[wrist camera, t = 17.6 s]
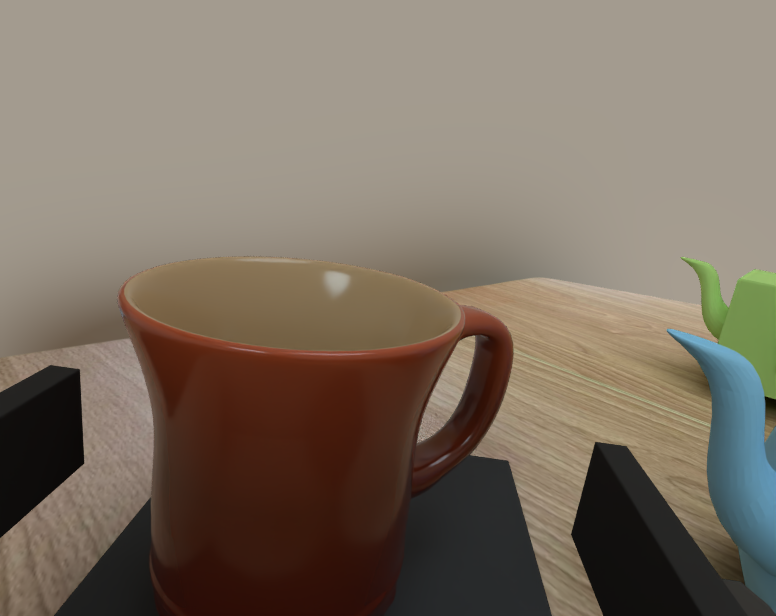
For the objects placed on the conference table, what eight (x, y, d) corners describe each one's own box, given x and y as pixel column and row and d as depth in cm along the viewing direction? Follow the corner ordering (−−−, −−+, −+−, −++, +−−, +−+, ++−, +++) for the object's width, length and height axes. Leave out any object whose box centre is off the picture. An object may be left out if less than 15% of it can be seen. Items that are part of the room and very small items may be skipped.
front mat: (-231, 982, 9) (-237, 968, 9) (214, 424, 28) (214, 417, 28) (693, 1153, 9) (700, 1140, 8) (507, 467, 28) (508, 460, 28)
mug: (136, 821, 11) (129, 372, 8) (118, 541, 19) (110, 252, 16) (548, 630, 18) (627, 332, 15) (410, 476, 25) (444, 259, 22)
